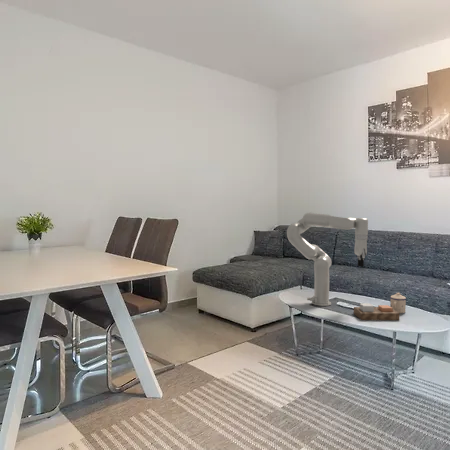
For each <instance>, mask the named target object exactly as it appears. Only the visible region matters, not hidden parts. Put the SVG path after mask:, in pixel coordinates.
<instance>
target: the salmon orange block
mask: <svg viewBox="0 0 450 450" xmlns="http://www.w3.org/2000/svg"><path fill="white" fill-rule="evenodd" d="M377 307H378V309H379V310H380V311H381V312H393V308H392V307H390V305H388V304H382V305H381V304H380V305H379V304H378V306H377Z"/></svg>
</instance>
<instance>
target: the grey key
mask: <svg viewBox="0 0 450 450" xmlns="http://www.w3.org/2000/svg"><path fill="white" fill-rule="evenodd" d="M359 307H360V310H361V311H363V312H374V307H375V305H373V304H372V303H364V302H362V303H359Z"/></svg>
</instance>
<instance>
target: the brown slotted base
mask: <svg viewBox="0 0 450 450" xmlns="http://www.w3.org/2000/svg"><path fill="white" fill-rule="evenodd" d="M400 314H401V313H398V312H397V311H395V310H394V309H393V312H381V311H380V310H379V309H378V306H374V312H363V311H361V310H360V306H353V315H355V316H356V317H357V318H358V319H359V320H360V321H400Z"/></svg>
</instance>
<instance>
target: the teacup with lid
mask: <svg viewBox="0 0 450 450" xmlns="http://www.w3.org/2000/svg"><path fill="white" fill-rule="evenodd" d="M389 298H390V303H389V304H390V305H389V306H390V307H392V308H393V309H394V310H395V311H397V312H398V313H400V314H404V313H406V304H407V302H406V301H407V297H406V296H404V295H402V294H401V292H396V293H395V294H392V295H391V296H390V297H389Z"/></svg>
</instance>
